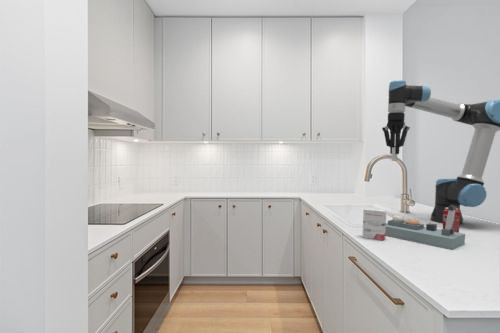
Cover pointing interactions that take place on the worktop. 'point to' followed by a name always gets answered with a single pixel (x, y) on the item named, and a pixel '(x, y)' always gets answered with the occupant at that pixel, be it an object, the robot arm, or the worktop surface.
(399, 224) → the panel
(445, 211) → the beverage can
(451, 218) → the lever
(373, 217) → the ink box
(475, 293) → the worktop surface
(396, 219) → the button ivory
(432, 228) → the slider knob
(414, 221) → the button terracotta
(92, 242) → the worktop surface
